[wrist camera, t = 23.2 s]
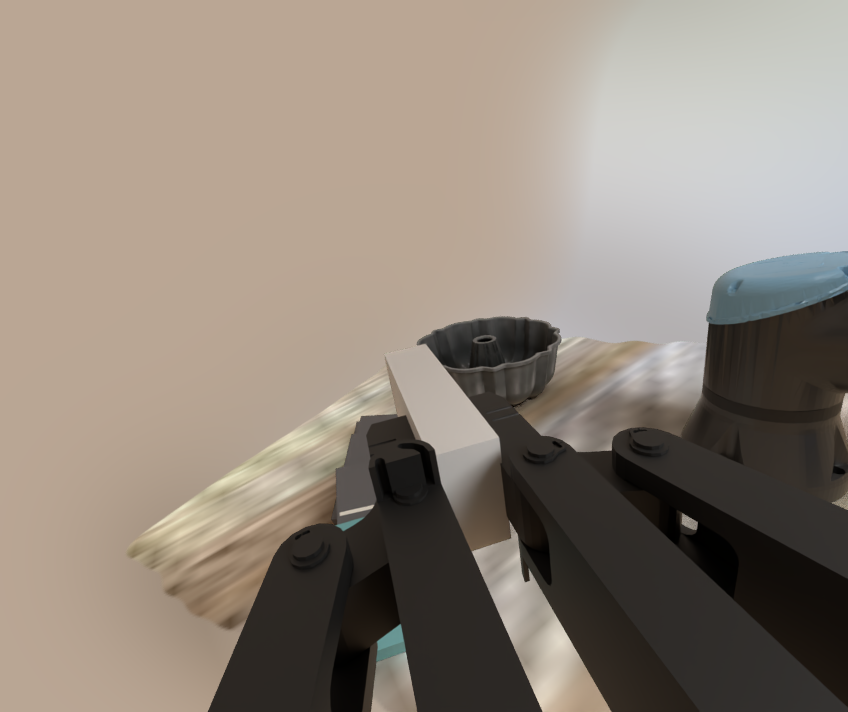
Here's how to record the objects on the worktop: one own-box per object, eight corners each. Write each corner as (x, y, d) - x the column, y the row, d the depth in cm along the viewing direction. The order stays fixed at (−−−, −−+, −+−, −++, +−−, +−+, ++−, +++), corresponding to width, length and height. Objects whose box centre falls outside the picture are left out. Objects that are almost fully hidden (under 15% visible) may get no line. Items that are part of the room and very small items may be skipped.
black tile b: (386, 527, 47) (397, 442, 56) (382, 518, 46) (394, 432, 55) (336, 527, 48) (355, 443, 57) (331, 519, 47) (351, 434, 56)
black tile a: (401, 566, 42) (387, 467, 51) (398, 557, 40) (385, 457, 49) (343, 579, 41) (339, 478, 50) (338, 571, 40) (335, 468, 49)
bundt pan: (551, 432, 60) (547, 370, 57) (396, 417, 72) (385, 365, 69) (572, 362, 82) (570, 314, 79) (450, 359, 94) (444, 318, 90)
